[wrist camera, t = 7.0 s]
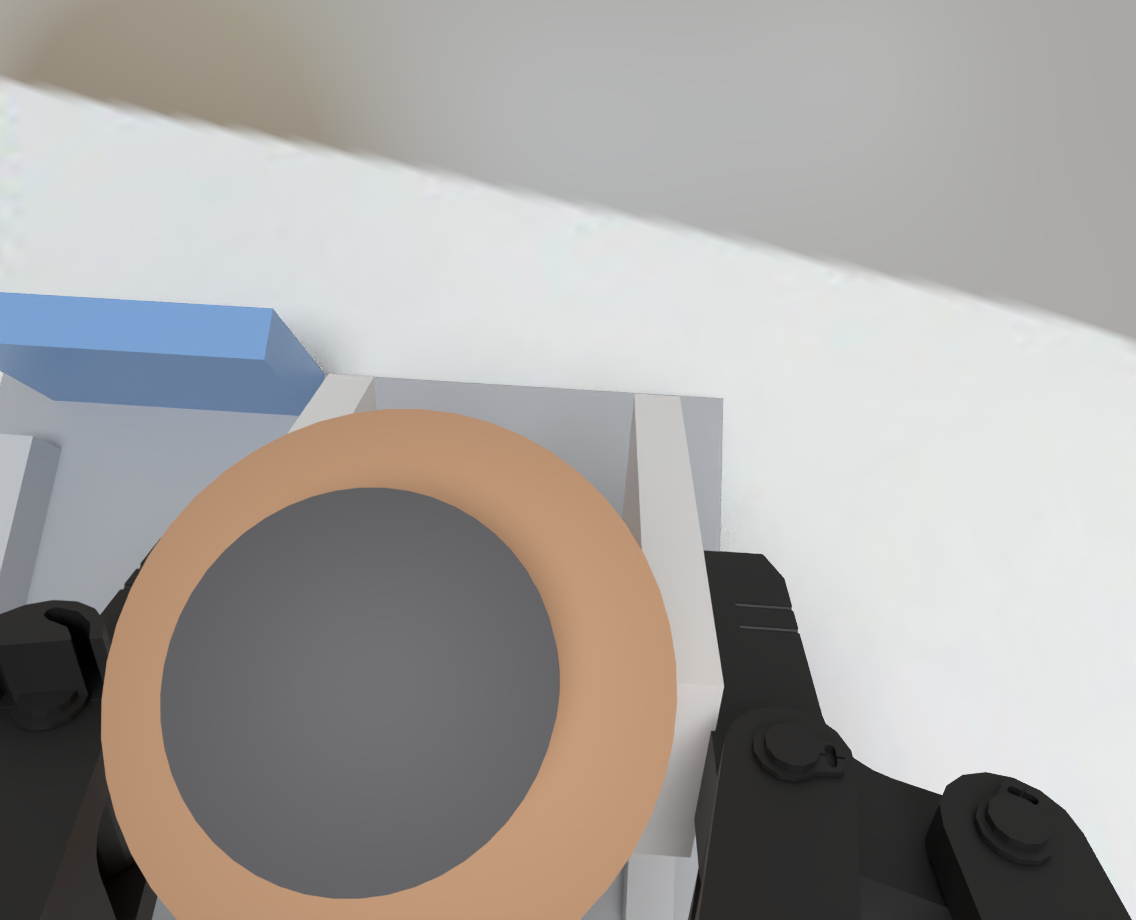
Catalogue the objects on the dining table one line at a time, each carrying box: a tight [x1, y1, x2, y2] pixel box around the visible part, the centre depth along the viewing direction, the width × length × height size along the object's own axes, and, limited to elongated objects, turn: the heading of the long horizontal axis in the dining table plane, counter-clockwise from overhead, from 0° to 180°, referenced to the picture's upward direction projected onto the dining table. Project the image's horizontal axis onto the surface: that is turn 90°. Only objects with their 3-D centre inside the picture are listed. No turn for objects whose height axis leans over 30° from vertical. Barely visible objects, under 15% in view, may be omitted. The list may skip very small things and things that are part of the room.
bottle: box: [101, 409, 677, 920], centre depth 12 cm, size 4×4×13 cm
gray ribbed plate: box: [0, 292, 723, 920], centre depth 19 cm, size 15×19×5 cm
